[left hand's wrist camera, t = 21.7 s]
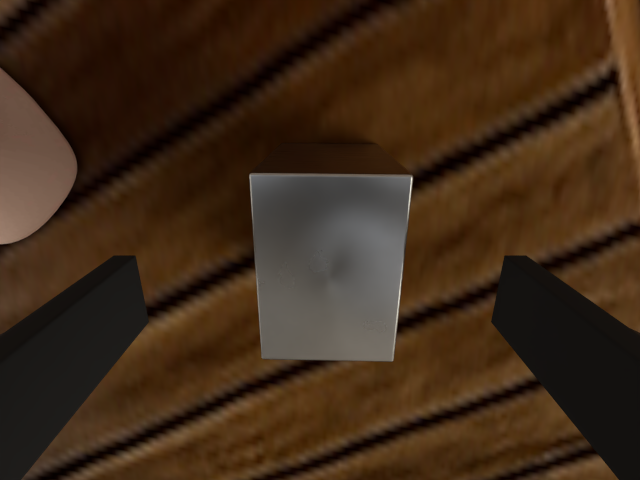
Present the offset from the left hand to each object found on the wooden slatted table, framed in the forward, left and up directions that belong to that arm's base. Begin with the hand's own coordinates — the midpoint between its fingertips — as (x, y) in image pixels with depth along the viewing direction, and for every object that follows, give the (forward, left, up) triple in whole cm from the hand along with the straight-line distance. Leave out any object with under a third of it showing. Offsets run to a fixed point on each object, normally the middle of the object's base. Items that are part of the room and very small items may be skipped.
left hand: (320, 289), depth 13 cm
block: (+1, 0, -8) cm, 8 cm away
